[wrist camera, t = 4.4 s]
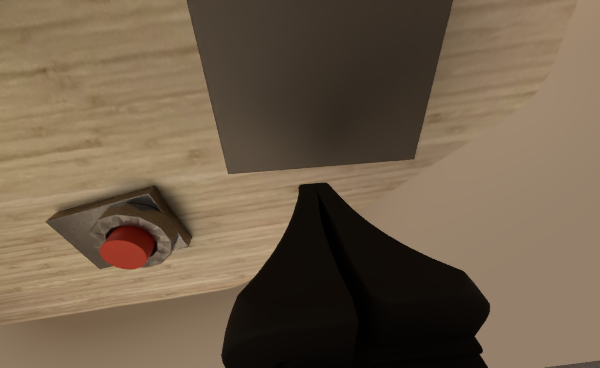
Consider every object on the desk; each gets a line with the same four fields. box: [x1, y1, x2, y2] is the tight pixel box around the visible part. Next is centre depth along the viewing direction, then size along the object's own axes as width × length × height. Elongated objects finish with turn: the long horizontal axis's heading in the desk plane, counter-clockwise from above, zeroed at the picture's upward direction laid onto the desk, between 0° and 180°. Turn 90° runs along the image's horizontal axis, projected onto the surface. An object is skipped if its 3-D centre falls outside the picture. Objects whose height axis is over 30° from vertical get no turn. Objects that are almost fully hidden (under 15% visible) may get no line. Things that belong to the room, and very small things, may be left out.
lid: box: [187, 0, 453, 174], centre depth 12 cm, size 11×12×1 cm
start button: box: [100, 226, 155, 269], centre depth 21 cm, size 4×4×2 cm
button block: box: [46, 186, 192, 269], centre depth 23 cm, size 10×7×3 cm
